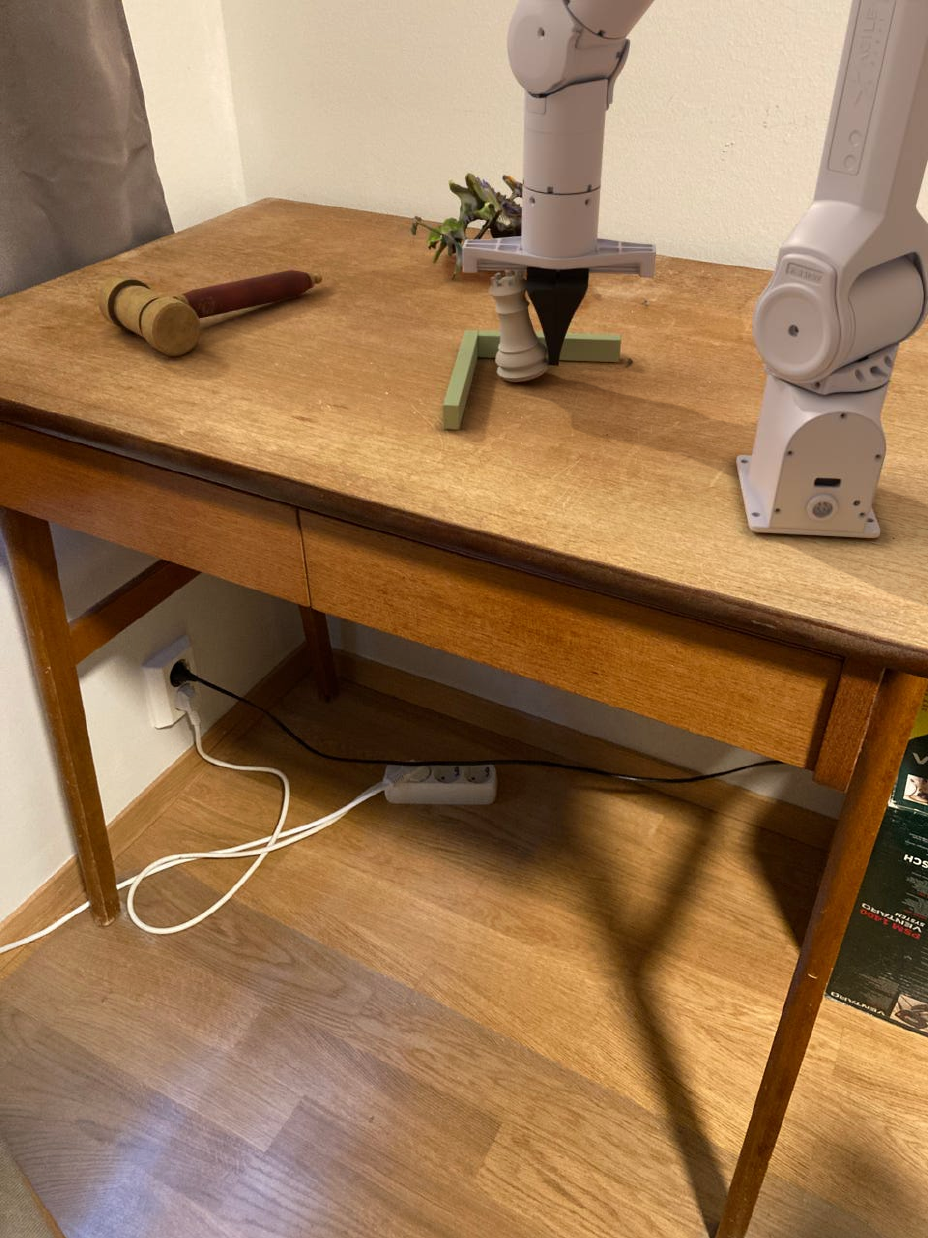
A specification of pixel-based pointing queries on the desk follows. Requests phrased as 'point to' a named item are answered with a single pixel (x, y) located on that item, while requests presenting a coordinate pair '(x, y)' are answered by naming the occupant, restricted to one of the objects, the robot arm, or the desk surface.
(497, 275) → the rook chess piece
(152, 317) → the gavel
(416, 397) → the desk surface
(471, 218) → the passion flower
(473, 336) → the corner guide
